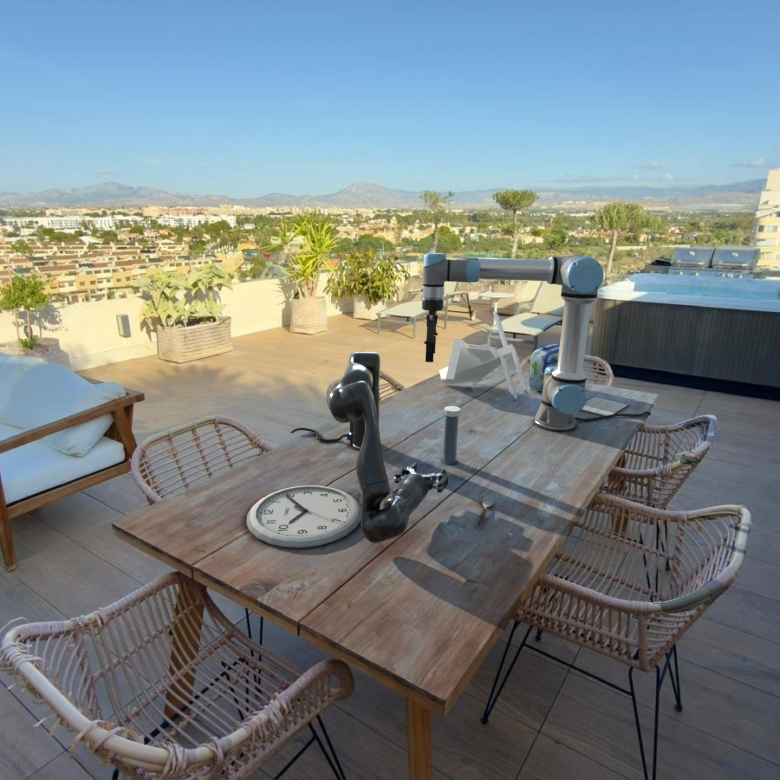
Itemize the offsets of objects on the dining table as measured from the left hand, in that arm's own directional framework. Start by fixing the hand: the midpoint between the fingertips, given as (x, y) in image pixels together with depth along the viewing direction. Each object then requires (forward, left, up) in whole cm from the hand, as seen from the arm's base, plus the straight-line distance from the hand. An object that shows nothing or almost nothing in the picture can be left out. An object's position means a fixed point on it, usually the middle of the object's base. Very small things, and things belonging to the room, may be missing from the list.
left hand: (429, 468), depth 151 cm
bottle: (0, +21, -7) cm, 22 cm away
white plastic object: (-9, +99, -7) cm, 100 cm away
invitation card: (+44, +102, -7) cm, 111 cm away
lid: (0, +21, +11) cm, 24 cm away
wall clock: (-25, -28, -7) cm, 38 cm away
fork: (+18, -7, -7) cm, 20 cm away
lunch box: (+19, +120, -7) cm, 122 cm away
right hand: (-16, +44, +21) cm, 52 cm away
